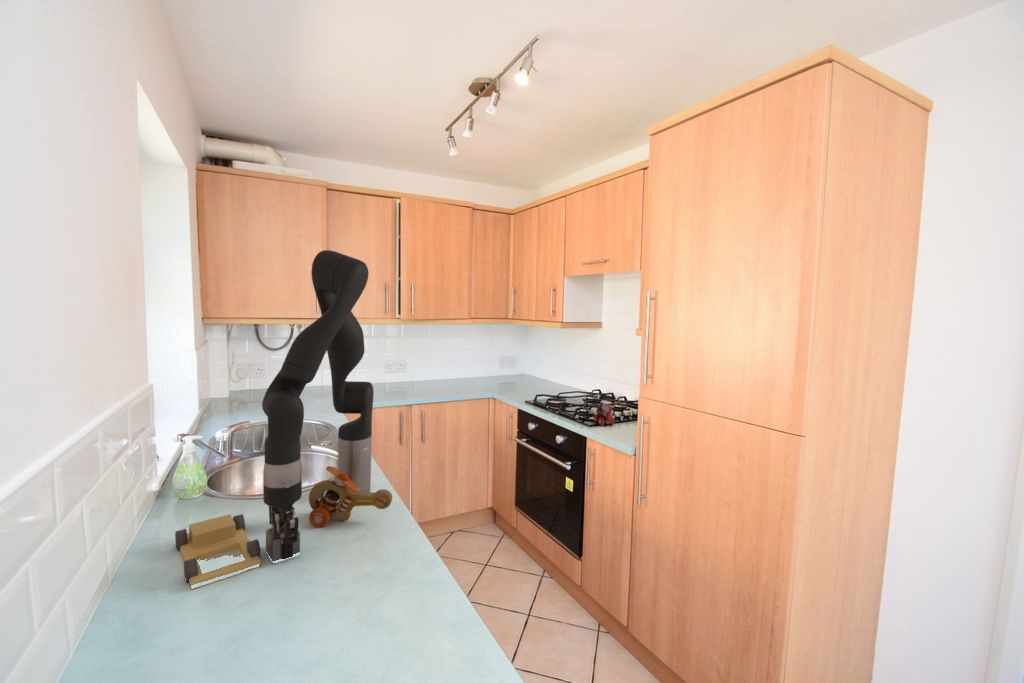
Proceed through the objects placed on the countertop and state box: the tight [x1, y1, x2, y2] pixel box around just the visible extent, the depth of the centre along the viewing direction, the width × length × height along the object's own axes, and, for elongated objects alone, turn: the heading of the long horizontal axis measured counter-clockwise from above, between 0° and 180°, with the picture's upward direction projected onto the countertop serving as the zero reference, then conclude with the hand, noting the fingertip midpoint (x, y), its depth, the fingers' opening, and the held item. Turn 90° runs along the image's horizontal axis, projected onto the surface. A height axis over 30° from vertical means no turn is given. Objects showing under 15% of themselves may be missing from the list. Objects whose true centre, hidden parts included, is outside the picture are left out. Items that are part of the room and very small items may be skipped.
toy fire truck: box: [593, 401, 615, 427], centre depth 217 cm, size 7×12×10 cm, turn 17°
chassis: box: [174, 513, 261, 585], centre depth 98 cm, size 21×13×4 cm, turn 43°
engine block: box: [265, 526, 301, 561], centre depth 99 cm, size 6×6×6 cm
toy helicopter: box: [308, 465, 393, 528], centre depth 115 cm, size 8×21×14 cm, turn 96°
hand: (282, 551), depth 99 cm, fingers closed on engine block, 5 cm apart
